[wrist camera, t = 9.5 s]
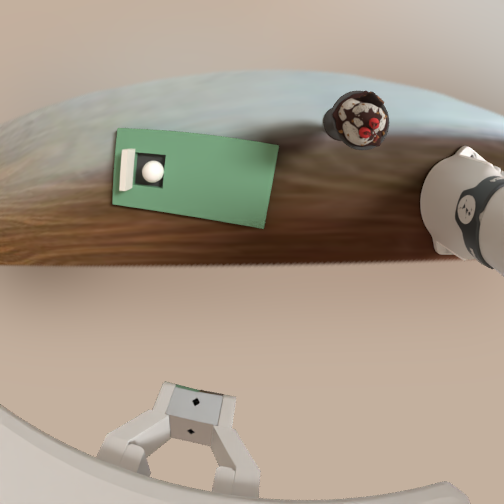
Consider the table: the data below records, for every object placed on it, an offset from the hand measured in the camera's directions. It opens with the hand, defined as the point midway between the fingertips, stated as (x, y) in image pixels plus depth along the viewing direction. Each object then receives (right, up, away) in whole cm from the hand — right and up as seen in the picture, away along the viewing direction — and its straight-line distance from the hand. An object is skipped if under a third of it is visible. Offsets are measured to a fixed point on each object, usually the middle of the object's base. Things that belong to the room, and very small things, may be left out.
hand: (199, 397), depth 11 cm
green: (-7, +17, +30) cm, 35 cm away
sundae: (+15, +24, +26) cm, 38 cm away
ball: (-12, +17, +28) cm, 36 cm away
